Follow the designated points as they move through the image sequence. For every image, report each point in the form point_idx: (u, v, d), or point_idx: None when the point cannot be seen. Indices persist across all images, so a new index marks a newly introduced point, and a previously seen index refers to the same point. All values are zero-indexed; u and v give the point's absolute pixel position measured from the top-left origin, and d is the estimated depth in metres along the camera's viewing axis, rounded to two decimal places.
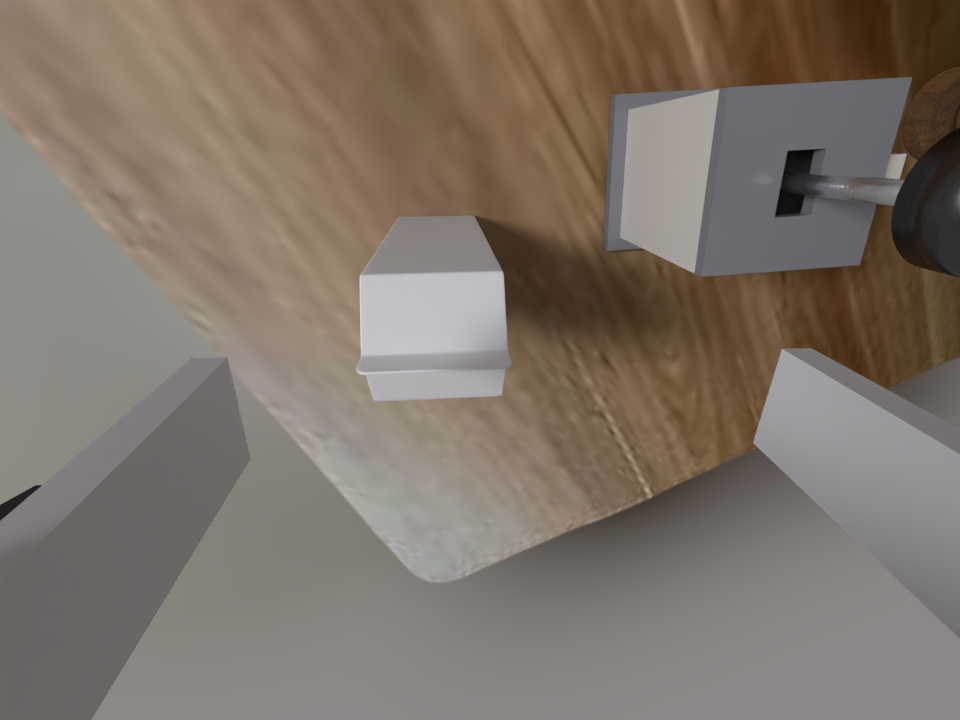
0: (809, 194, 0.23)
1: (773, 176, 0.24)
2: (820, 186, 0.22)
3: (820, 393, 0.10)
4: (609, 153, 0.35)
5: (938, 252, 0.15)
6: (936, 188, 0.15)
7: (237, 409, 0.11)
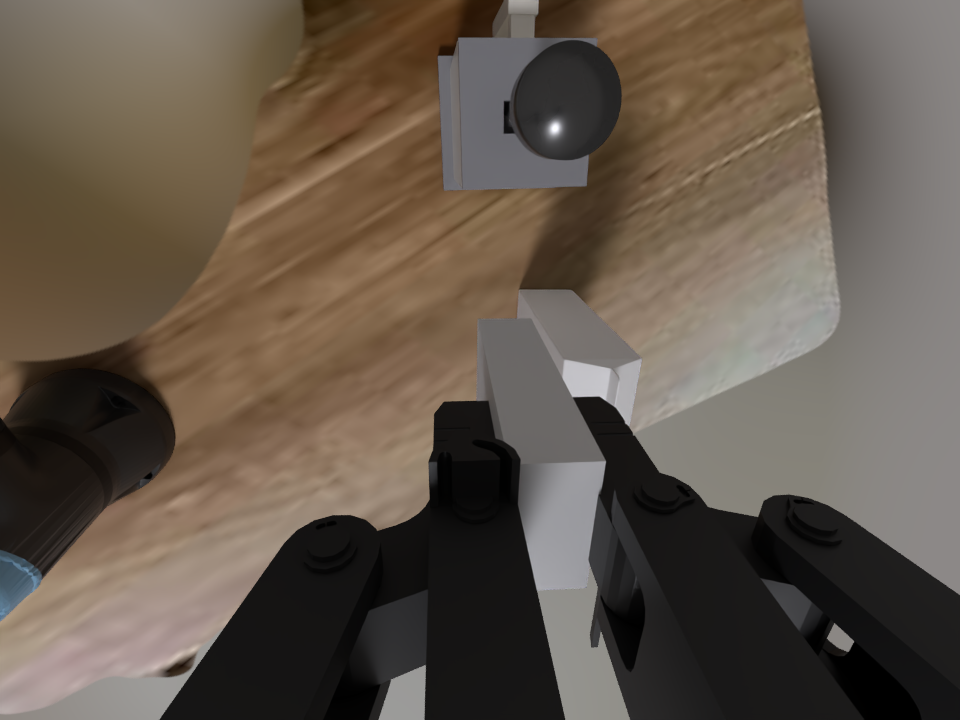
0: None
1: None
2: None
3: None
4: None
5: None
6: (549, 158, 0.24)
7: None
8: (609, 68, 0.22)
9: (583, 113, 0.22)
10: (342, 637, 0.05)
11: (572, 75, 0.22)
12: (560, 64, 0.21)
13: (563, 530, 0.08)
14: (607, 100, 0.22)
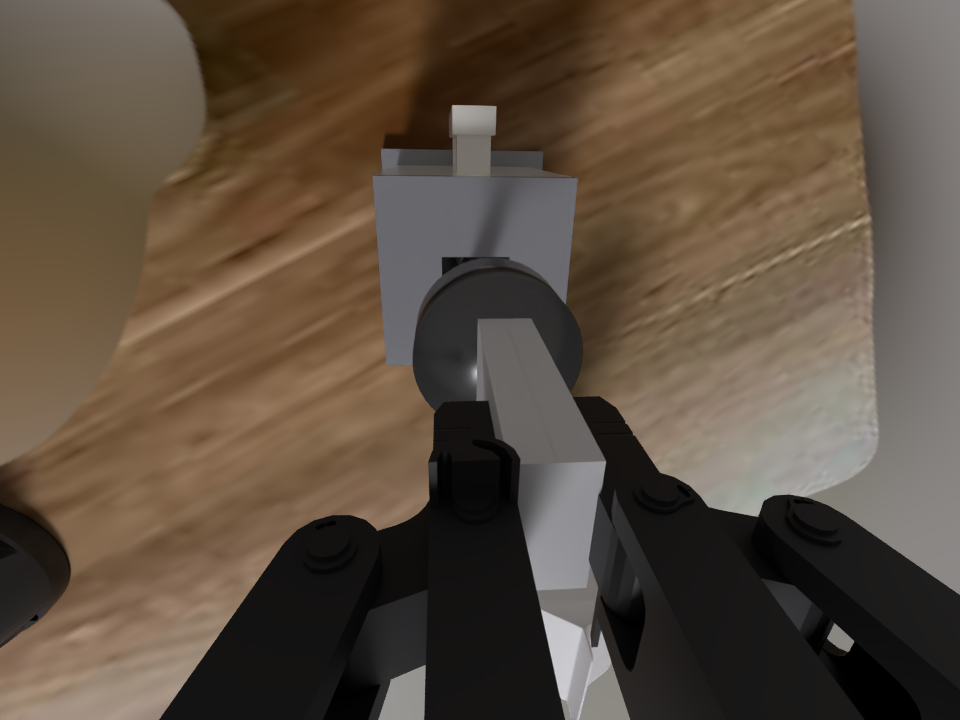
0: None
1: None
2: None
3: None
4: None
5: None
6: None
7: None
8: (562, 315, 0.13)
9: None
10: (342, 637, 0.05)
11: None
12: (481, 310, 0.13)
13: (563, 530, 0.08)
14: (560, 357, 0.14)
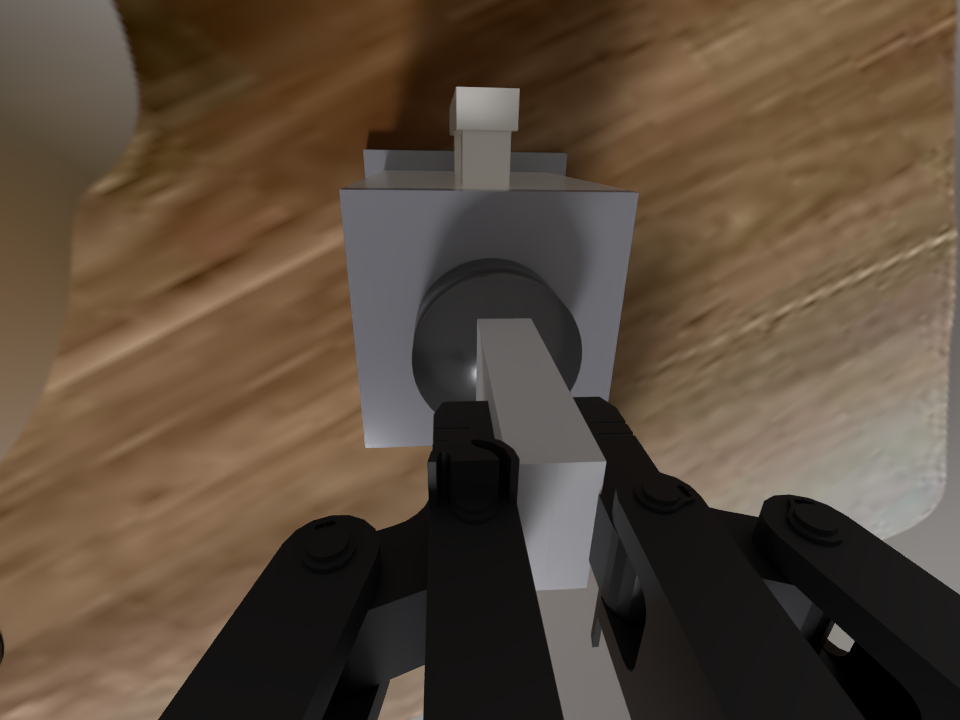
0: None
1: None
2: None
3: None
4: None
5: None
6: None
7: None
8: (562, 315, 0.13)
9: None
10: (341, 637, 0.05)
11: None
12: (480, 310, 0.13)
13: (563, 530, 0.08)
14: (560, 357, 0.14)
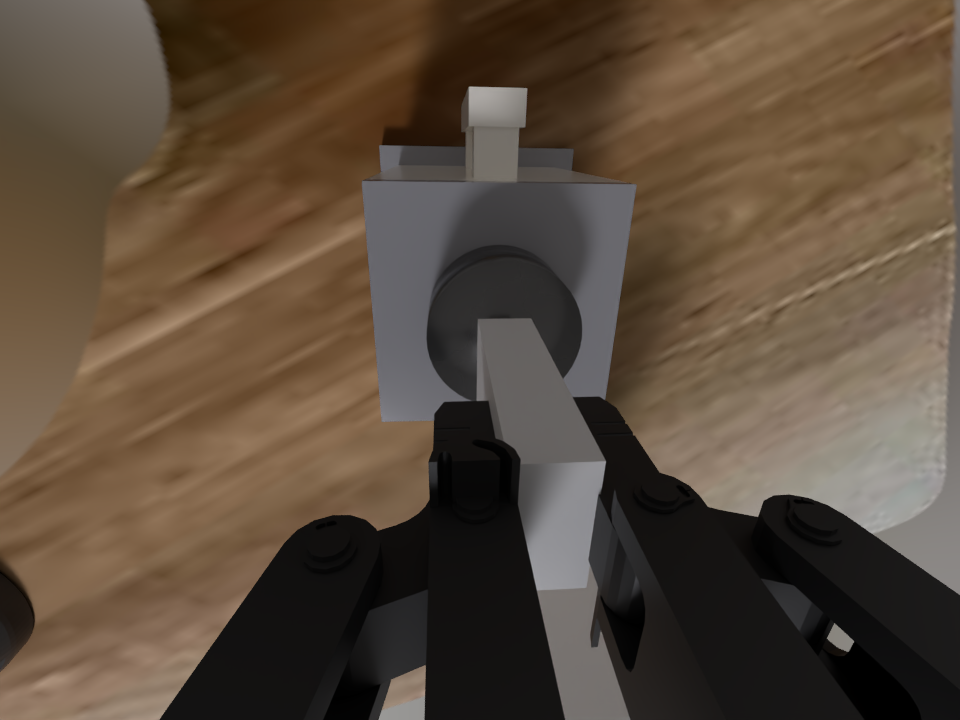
0: None
1: None
2: None
3: None
4: None
5: None
6: None
7: None
8: (564, 296, 0.14)
9: None
10: (342, 637, 0.05)
11: (507, 305, 0.15)
12: (489, 291, 0.14)
13: (563, 530, 0.08)
14: (562, 336, 0.15)
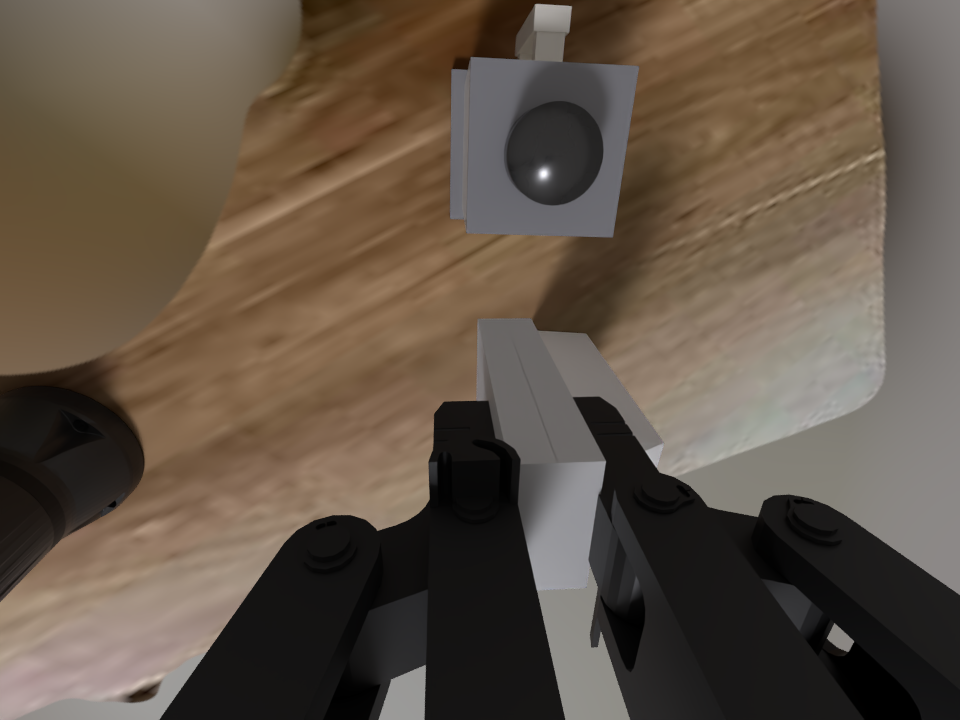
0: None
1: None
2: None
3: None
4: None
5: None
6: None
7: None
8: (593, 127, 0.24)
9: (568, 164, 0.25)
10: (342, 637, 0.05)
11: (559, 131, 0.24)
12: (548, 121, 0.24)
13: (563, 530, 0.08)
14: (591, 155, 0.25)
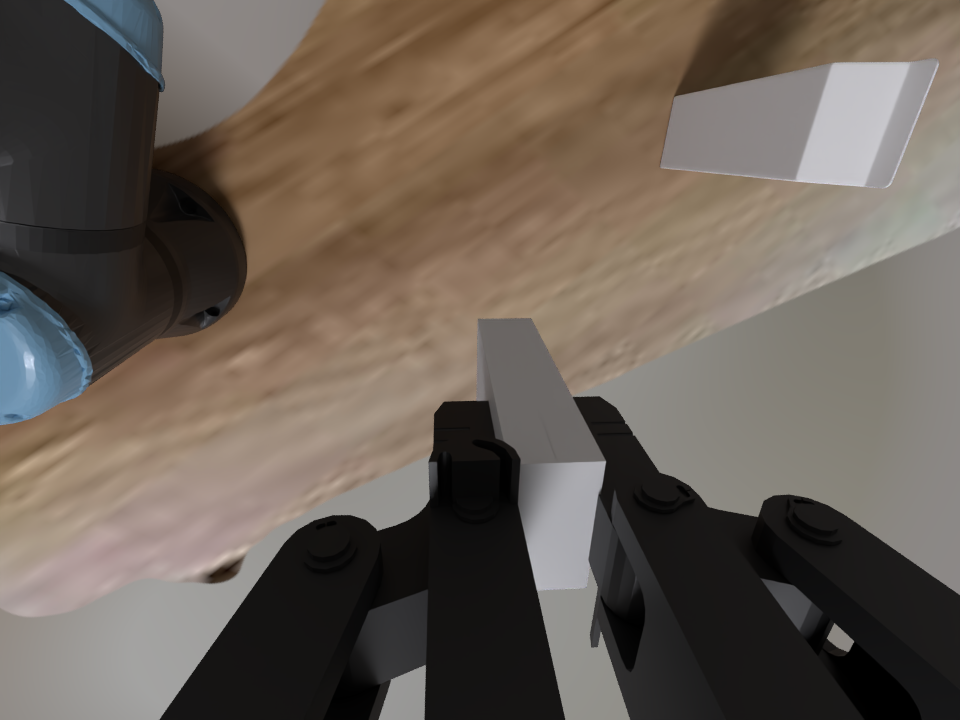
0: None
1: None
2: None
3: None
4: None
5: None
6: None
7: None
8: None
9: None
10: (342, 637, 0.05)
11: None
12: None
13: (563, 530, 0.08)
14: None
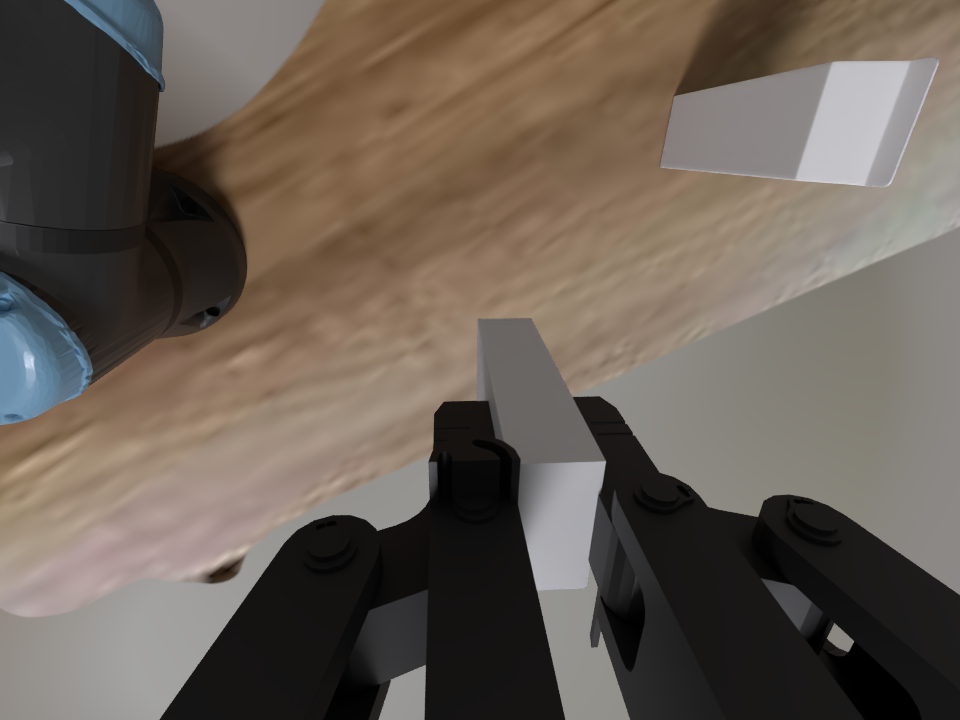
0: None
1: None
2: None
3: None
4: None
5: None
6: None
7: None
8: None
9: None
10: (342, 637, 0.05)
11: None
12: None
13: (563, 530, 0.08)
14: None
